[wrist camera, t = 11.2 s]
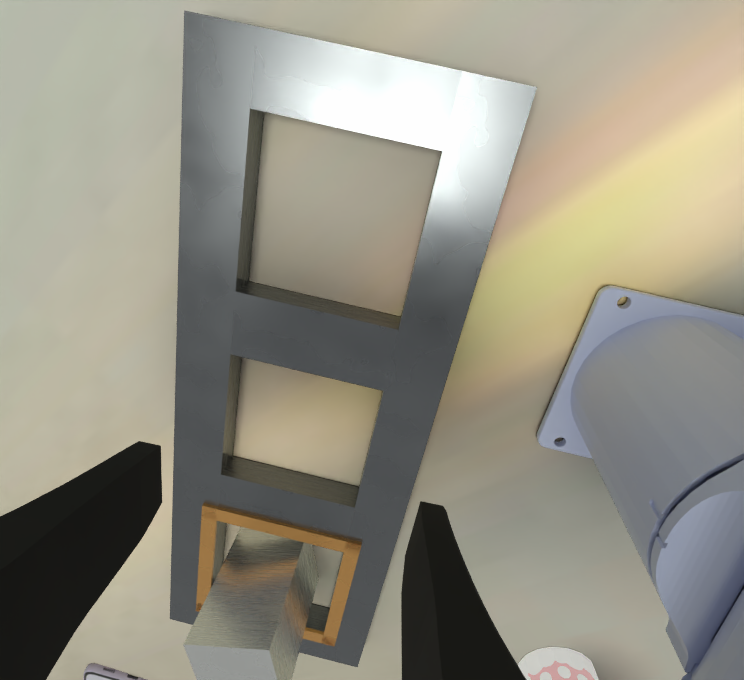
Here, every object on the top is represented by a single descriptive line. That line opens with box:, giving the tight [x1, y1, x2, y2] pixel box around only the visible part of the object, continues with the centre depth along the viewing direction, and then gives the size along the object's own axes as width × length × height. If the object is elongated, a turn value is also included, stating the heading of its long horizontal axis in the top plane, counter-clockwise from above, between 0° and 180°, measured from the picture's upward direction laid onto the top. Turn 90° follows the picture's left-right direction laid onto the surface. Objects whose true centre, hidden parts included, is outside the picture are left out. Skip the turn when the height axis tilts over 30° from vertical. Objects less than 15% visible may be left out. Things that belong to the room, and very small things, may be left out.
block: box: [183, 527, 319, 680], centre depth 24 cm, size 4×4×7 cm
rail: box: [170, 11, 537, 667], centre depth 23 cm, size 12×32×2 cm, turn 168°
